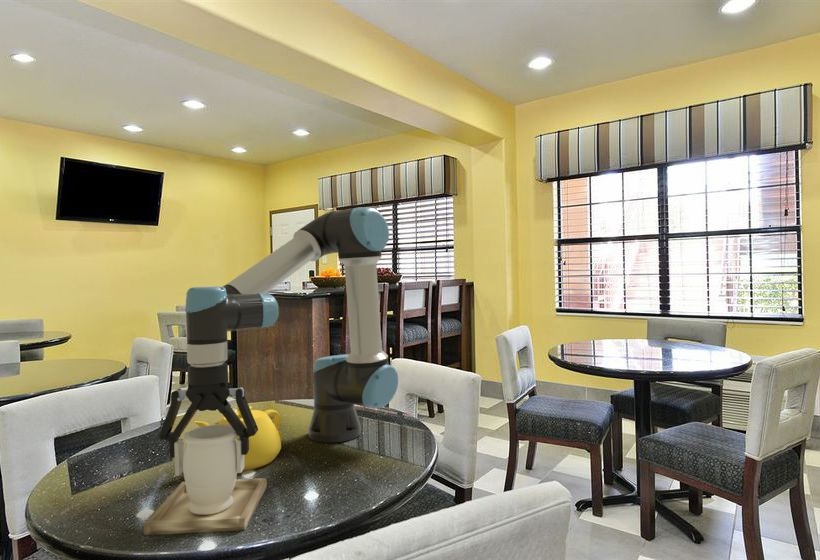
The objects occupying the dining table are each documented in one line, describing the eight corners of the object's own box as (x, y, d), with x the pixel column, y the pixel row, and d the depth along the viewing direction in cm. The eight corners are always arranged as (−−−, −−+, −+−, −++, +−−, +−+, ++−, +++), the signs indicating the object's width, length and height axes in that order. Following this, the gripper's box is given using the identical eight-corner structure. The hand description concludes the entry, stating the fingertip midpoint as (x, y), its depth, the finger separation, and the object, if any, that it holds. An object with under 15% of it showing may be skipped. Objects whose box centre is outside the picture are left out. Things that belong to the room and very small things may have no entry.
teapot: (214, 487, 110) (213, 426, 110) (175, 469, 121) (174, 413, 121) (303, 454, 129) (302, 402, 129) (262, 440, 140) (261, 393, 140)
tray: (266, 487, 109) (266, 478, 109) (244, 530, 91) (244, 518, 91) (182, 491, 108) (182, 481, 108) (143, 535, 90) (143, 523, 90)
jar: (219, 521, 93) (219, 442, 93) (170, 515, 95) (171, 438, 95) (248, 496, 103) (248, 425, 103) (204, 492, 105) (204, 422, 105)
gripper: (271, 358, 103) (274, 462, 104) (155, 361, 102) (158, 467, 102) (263, 365, 96) (266, 476, 96) (137, 368, 94) (140, 482, 95)
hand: (210, 471), depth 99 cm, fingers open, 11 cm apart
